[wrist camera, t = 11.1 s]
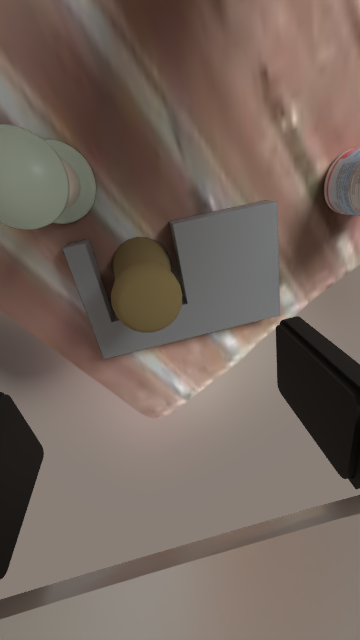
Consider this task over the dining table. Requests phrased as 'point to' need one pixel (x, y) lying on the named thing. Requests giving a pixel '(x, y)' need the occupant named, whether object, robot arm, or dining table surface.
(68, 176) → the bobbin post
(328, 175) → the pill bottle
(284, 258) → the dining table surface
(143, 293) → the cork
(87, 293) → the gray block
